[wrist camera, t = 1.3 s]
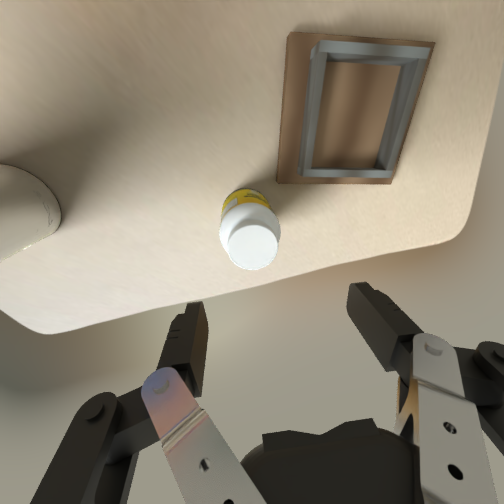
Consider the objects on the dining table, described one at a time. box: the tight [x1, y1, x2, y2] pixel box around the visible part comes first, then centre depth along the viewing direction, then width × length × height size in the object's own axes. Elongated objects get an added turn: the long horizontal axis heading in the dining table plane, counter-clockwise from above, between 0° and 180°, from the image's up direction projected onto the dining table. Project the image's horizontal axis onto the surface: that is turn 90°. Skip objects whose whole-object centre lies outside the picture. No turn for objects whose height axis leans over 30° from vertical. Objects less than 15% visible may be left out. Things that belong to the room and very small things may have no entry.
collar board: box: [276, 32, 435, 184], centre depth 24 cm, size 15×14×4 cm
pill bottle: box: [219, 188, 281, 270], centre depth 25 cm, size 6×6×12 cm
